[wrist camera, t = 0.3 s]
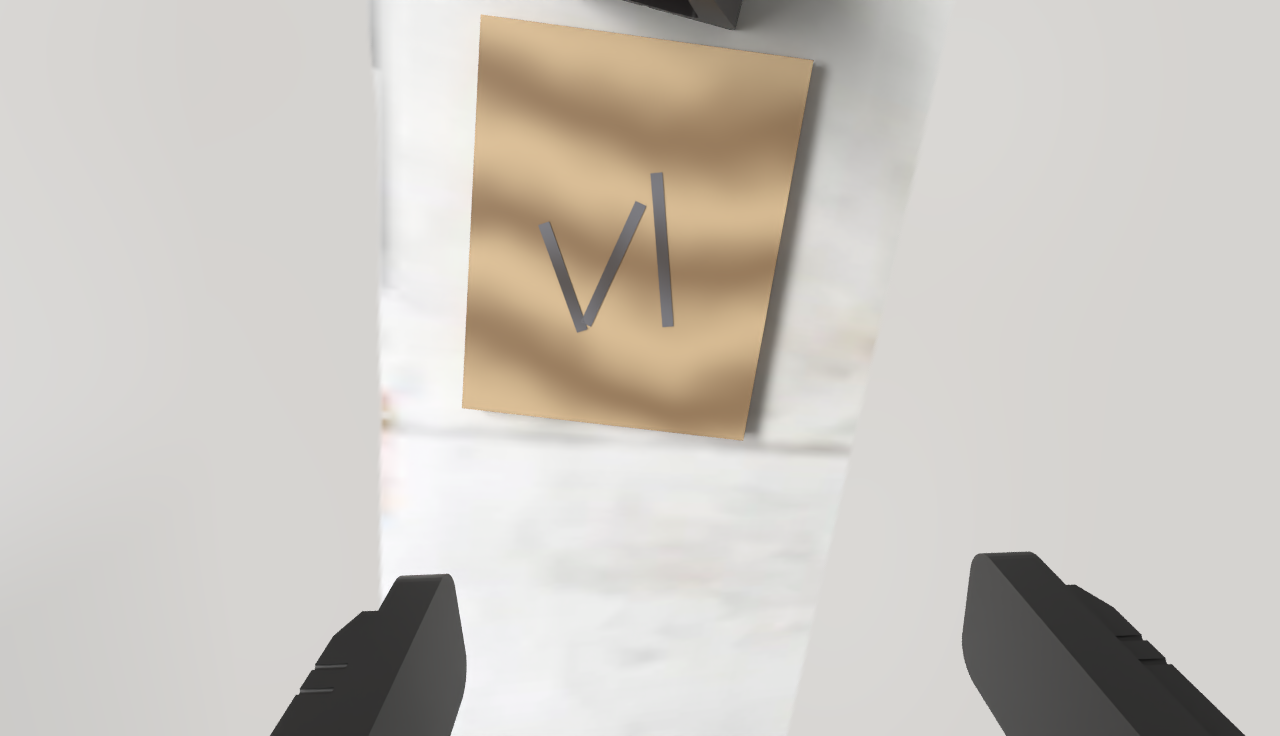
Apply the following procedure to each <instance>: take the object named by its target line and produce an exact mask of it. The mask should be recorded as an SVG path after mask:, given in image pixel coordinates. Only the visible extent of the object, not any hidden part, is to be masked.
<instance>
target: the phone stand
mask: <svg viewBox="0 0 1280 736" xmlns="http://www.w3.org/2000/svg"><path fill="white" fill-rule="evenodd" d="M624 1H627V2H631V3H635V4H638V5H645V6H648V7H649V8H653V9H657V10H660V11H664V12H668V13H671V14H675V15H679V16H682V17H686V18H690V19H693V20H697V21H701V22H704V23H708V24H712V25H715V26H719V27H723V28H726V29H731V30H734V29H735V27H736V23H737V19H738V15H739V11H740V8H741V4H742V0H624Z"/></svg>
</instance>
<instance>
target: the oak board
mask: <svg viewBox="0 0 1280 736" xmlns="http://www.w3.org/2000/svg"><path fill="white" fill-rule="evenodd" d="M813 61H814V60H808V59H800V58H793V57H786V56H779V55H771V54H764V53H757V52H750V51H742V50H735V49H728V48H720V47H713V46H706V45H699V44H691V43H684V42H677V41H669V40H662V39H655V38H648V37H640V36H633V35H626V34H618V33H611V32H604V31H597V30H589V29H582V28H575V27H568V26H560V25H553V24H546V23H538V22H531V21H524V20H517V19H509V18H502V17H495V16H487V15H481V22H480V43H479V64H478V85H477V106H476V127H475V148H474V169H473V189H472V210H471V231H470V252H469V273H468V294H467V315H466V336H465V357H464V378H463V399H462V408H466V409H475V410H483V411H492V412H501V413H509V414H518V415H527V416H535V417H544V418H552V419H561V420H570V421H578V422H587V423H596V424H604V425H613V426H621V427H630V428H639V429H647V430H656V431H665V432H673V433H682V434H690V435H699V436H708V437H716V438H725V439H734V440H742V441H743V439H744V433H745V428H746V423H747V417H748V412H749V406H750V401H751V396H752V390H753V385H754V379H755V374H756V369H757V363H758V358H759V352H760V347H761V342H762V336H763V331H764V325H765V320H766V315H767V309H768V304H769V298H770V293H771V288H772V282H773V277H774V271H775V266H776V261H777V255H778V250H779V244H780V239H781V234H782V228H783V223H784V218H785V212H786V207H787V201H788V196H789V191H790V185H791V180H792V174H793V169H794V164H795V158H796V153H797V147H798V142H799V137H800V131H801V126H802V120H803V115H804V110H805V104H806V99H807V93H808V88H809V83H810V77H811V72H812V66H813Z"/></svg>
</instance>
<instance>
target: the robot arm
mask: <svg viewBox="0 0 1280 736" xmlns="http://www.w3.org/2000/svg"><path fill="white" fill-rule="evenodd" d="M962 648H963V654H964V659H965V663H966V666H967V670H968V672H969V675H970V677H971V679H972V681H973V683H974V684H975V686H976V688H977V689H978V691H979V692H980V694H981V696H982V697H983V699H984V701H985V702H986V704H987V705H988V707H989V709H990V710H991V712H992V713H993V715H994V717H995V718H996V720H997V721H998V723H999V725H1000V726H1001V728H1002V730H1003V731H1004V733H1005V735H1006V736H1245V735H1244V734H1243V733H1242V732H1241V731H1240V730H1239V729H1238V728H1237V727H1236V726H1235V725H1234V724H1233V723H1231V722H1230V720H1229V719H1227V718H1226V717H1225V716H1224V715H1223V714H1222V713H1221V712H1220V711H1219V710H1218V709H1217V708H1216V707H1215V706H1214V705H1213V704H1212V703H1211V702H1210V701H1209V700H1208V699H1207V698H1206V697H1205V696H1204V695H1203V694H1202V693H1201V692H1200V691H1199V690H1198V689H1197V688H1196V687H1194V686H1193V684H1191V682H1189V681H1188V680H1187V679H1186V678H1185V677H1184V676H1183V675H1182V674H1181V673H1180V672H1179V671H1178V670H1177V669H1176V668H1175V667H1174V666H1173V665H1172V664H1167V663H1166V660H1165V657H1164V656H1163V655H1162V654H1161V653H1160V652H1158V650H1157V649H1156V648H1155V647H1153V645H1151V644H1150V643H1149V642H1148V641H1147V640H1146V641H1143V639H1142V636H1141V634H1140V633H1139V632H1138V631H1137V630H1136V629H1135V628H1134V627H1133V626H1132V625H1131V624H1130V623H1129V622H1127V620H1126V619H1125V618H1124V617H1123V616H1122V615H1121V614H1120V613H1119V612H1118V611H1116V609H1115V608H1113V607H1112V606H1110V605H1109V604H1107V603H1105V602H1104V601H1102V600H1100V599H1098V598H1097V597H1095V596H1093V595H1092V594H1090V593H1088V592H1087V591H1085V590H1083V589H1082V588H1080V587H1078V586H1077V585H1065V584H1064V583H1063V582H1062V581H1061V579H1060V578H1059V577H1058V576H1056V574H1055V573H1054V572H1053V571H1052V570H1051V569H1050V568H1049V567H1048V566H1047V565H1046V564H1045V563H1044V562H1043V561H1042V560H1041V559H1040V558H1039V557H1038V556H1037V555H1036V554H1034V553H1032V552H1007V553H983V554H977V555H976V556H975V557H974V559H973V561H972V564H971V569H970V577H969V585H968V593H967V601H966V609H965V617H964V625H963V633H962ZM465 682H466V652H465V645H464V639H463V633H462V627H461V621H460V615H459V609H458V603H457V597H456V590H455V585H454V581H453V579H452V577H451V575H449V574H433V575H409V576H400V577H398V578H397V579H396V581H395V582H394V584H393V586H392V587H391V589H390V591H389V593H388V594H387V596H386V598H385V600H384V601H383V603H382V605H381V607H380V608H379V610H378V611H362V612H361V613H360V614H359V615H358V616H356V617H355V618H354V619H353V620H352V621H350V622H349V623H348V624H347V625H346V626H345V627H343V628H342V629H341V630H340V631H339V632H338V633H336V634H335V635H334V636H333V637H332V639H331V641H330V642H329V644H328V645H327V647H326V648H325V650H324V652H323V653H322V655H321V656H320V658H319V659H318V661H317V663H316V664H315V670H312V671H311V672H310V674H309V675H308V677H307V679H306V680H305V682H304V683H303V685H302V686H301V688H300V694H299V695H296V696H295V697H294V699H293V700H292V702H291V704H290V705H289V707H288V708H287V710H286V711H285V713H284V715H283V716H282V718H281V719H280V721H279V723H278V724H277V726H276V727H275V729H274V730H273V732H272V733H271V735H270V736H450V735H451V732H452V729H453V726H454V723H455V720H456V716H457V713H458V710H459V707H460V704H461V701H462V698H463V694H464V689H465Z"/></svg>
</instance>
